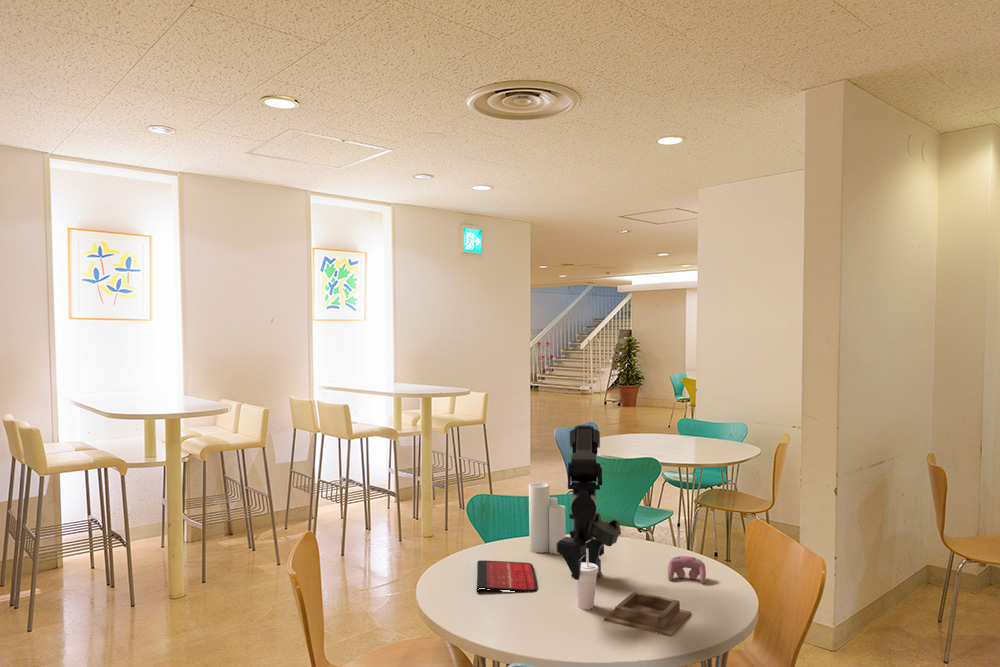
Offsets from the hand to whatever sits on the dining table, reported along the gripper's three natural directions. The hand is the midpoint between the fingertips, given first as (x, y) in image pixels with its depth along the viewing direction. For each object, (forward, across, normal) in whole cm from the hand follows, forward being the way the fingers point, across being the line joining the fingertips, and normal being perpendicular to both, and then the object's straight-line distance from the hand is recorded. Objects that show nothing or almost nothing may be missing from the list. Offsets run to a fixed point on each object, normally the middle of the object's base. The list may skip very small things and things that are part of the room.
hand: (585, 573), depth 162 cm
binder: (+9, +6, +27) cm, 29 cm away
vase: (+8, +33, +29) cm, 45 cm away
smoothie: (+8, 0, 0) cm, 8 cm away
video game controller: (+8, +30, -15) cm, 35 cm away
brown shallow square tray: (+8, +2, -15) cm, 17 cm away
